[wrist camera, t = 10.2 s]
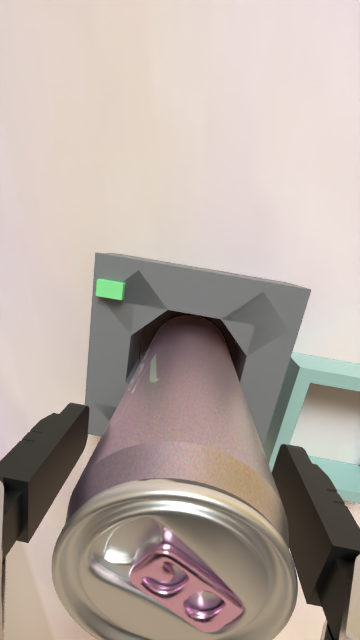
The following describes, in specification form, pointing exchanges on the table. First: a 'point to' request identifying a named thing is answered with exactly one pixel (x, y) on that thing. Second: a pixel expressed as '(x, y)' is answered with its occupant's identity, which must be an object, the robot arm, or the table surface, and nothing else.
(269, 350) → the port
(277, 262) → the table surface
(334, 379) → the teal square frame
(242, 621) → the beverage can
